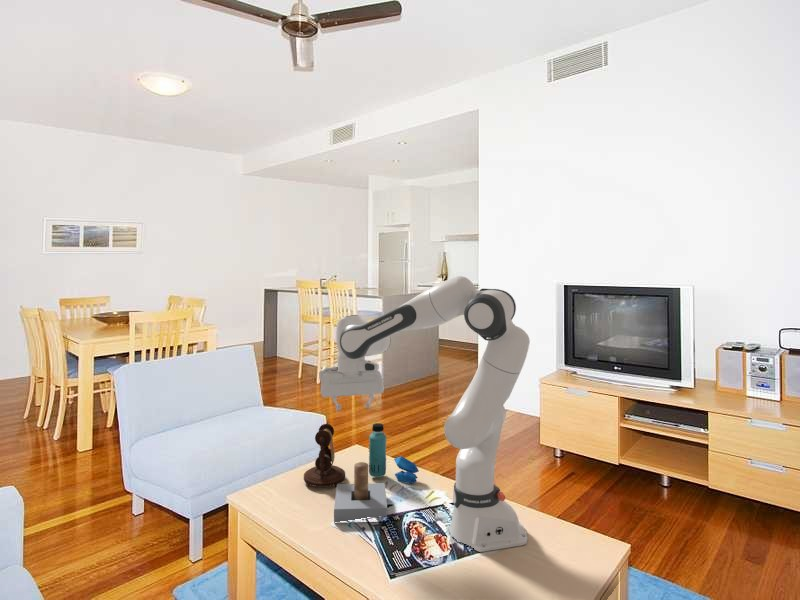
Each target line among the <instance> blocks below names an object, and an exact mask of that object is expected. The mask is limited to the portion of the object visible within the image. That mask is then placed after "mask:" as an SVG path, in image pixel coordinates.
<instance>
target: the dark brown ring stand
mask: <svg viewBox="0 0 800 600" xmlns="http://www.w3.org/2000/svg"><path fill="white" fill-rule="evenodd" d="M334 434H335V430H334V426H333V425H331V424H329V423H323V424H321V425H320V426H319V428H318V431H317V432H316V434H315V437H314V439H315V443H316V444H317V445H318V446H320V447H319V453H318V457H317V458H316V459H315V461H314V466H313V467H311V468H309V469H308V470H306V471H305V472H304V474H303V480H304V482H305V484H307V487H308V488H310V487H311V486H312V487H317V488H326V487H332V486H334V488H335V489H336V488H337V484H341V483H342V482H343V481H344V480H345V479H346V471H345V470H344V469H343V468H341V467H339V466H337V465H334V461H335V458H336V457H335V449H334V448H335V447H334V442H333V441H334V439H333V436H334ZM329 447H330V448H329Z"/></svg>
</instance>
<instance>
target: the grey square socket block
mask: <svg viewBox="0 0 800 600" xmlns="http://www.w3.org/2000/svg"><path fill="white" fill-rule="evenodd" d="M333 505H334V506H333V524H334V523H335V522H340V521H348V520H355V519H361V518H367V517H379V516H387V517H388V503H387V494H386V483H384V482H382V483H376V482H375V483H374V482H373V483H368V500H354V483H342V484H341V483H339V484H337V487H336V488H335V498H334V504H333Z"/></svg>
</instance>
